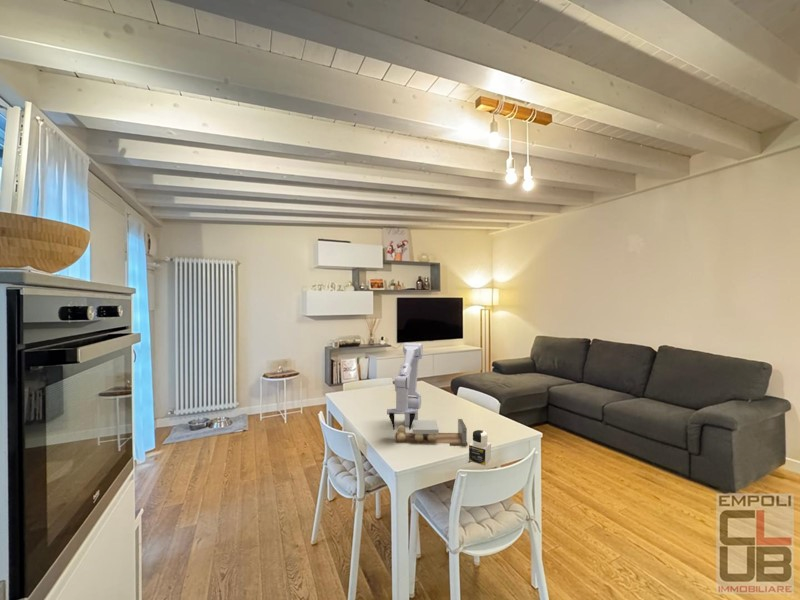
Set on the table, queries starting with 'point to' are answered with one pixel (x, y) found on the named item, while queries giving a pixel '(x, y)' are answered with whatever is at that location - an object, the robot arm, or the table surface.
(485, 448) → the medicine bottle
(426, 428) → the slab
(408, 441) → the roller board
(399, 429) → the roller
